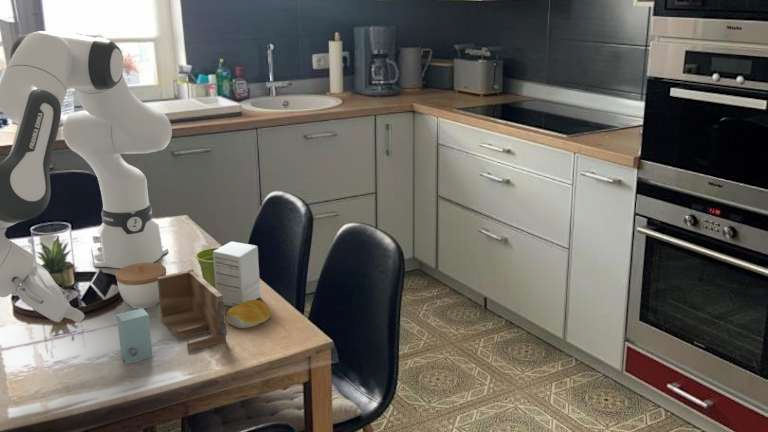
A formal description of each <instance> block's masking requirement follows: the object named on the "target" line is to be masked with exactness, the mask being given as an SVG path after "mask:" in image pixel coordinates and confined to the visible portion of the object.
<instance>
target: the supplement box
mask: <svg viewBox="0 0 768 432" xmlns="http://www.w3.org/2000/svg"><path fill="white" fill-rule="evenodd" d="M219 247H220V246H219ZM213 261H214V276H215V289H216V290H217V291H218V292H219V293H221V294H222V295H223V302H224V303H225V306H228V307H231V308H232V307H234V306H238V305H239V304H241V303H243V302H247V301H251V300H257V299H259V298H261V286H260V284H261V283H260V267H259V247H258V245H255V244H250V243H249V244H248V243H243V242H236V241H229V242H228V243H226V244H224V245H222V246H221V247H220V248H219V249H217V250H215V251H213Z"/></svg>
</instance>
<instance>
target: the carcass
mask: <svg viewBox="0 0 768 432" xmlns="http://www.w3.org/2000/svg"><path fill="white" fill-rule="evenodd" d="M157 281H158V290H159V307H160V308H159V309H160V318H161V322H162V323H163V324H164V325H165V326H166V327H167V328H168V330H170V331H171V333H173V335H174V336H175V337H176V338H177V339H178V340H181V339H185V338H188V337H192V336H196V335H198V334H203V333H206V332H209V333H211V334H210V335H207V336H203V337H199V338H195V339H191V340H187V341H186V347H187V350H188V352H190V351H194V350H197V349H202V348H205V347H208V346H212V345H216V344H220V343H223V342H226V341H227V335H228V332H227V331H228V330H227V329H228V328H227V322H226V321H225V315H226V305H225V303H224V302H223V295H222V294H221V293H219V292H218V291H217V290H216V289H215V288H214V287H212V286H211V285H210V284H209V283H208V282H207V281H205V280H204V279H203V276H201V275H200V274H199V273H198V272H196V271H195V270H194V269H188V270H183V271H180V272H175V273H174V272H173V273H171V274H166V275H165V276H161V277H157Z"/></svg>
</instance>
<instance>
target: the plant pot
mask: <svg viewBox="0 0 768 432" xmlns="http://www.w3.org/2000/svg"><path fill="white" fill-rule="evenodd" d="M219 248H220V246H219V247H209V248H205V249H202V250H200V251H198V252H197V253H196V254H195V259H196V260H197V261H198V264H199V267H200V270H201V275H202V276H201V277H202V278H203V279H204V280H205V281H207V282H208V283H209V284H210V285H211V286H212V287H214V288H215V276H214V261H213V251H215V250H217V249H219Z"/></svg>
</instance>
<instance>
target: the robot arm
mask: <svg viewBox="0 0 768 432" xmlns="http://www.w3.org/2000/svg"><path fill="white" fill-rule="evenodd" d="M123 72H124V57H123V52H122V50H121V48H120V47H119V46H118V45H117V44H116V43H115V42H114V41H112V40H110V39H107V38H105V37H104V36H102V35H101V34H99V33H98V32H96V31H91V30H80V31H77V32H75V33H73V34H72V33H71V34H70V33H65V34H63V33H54V32H50V31H45V30H44V31H43V30H39V31H35V32H31V33H26V34H22V35H20V36H19V37H18V38H17V39H16V40H15V41H14V42H13V43H12V46H11V49H10V60H9V62H8V63H7V66H6V68H5V71H4V73H3V75H2V78H1V81H0V111H1V112H2V113H3V114H4V116H5V117H6V118H7V119H8V120H10V121H11V122H13V123H15V124H17V128H16V132H15V135H14V138H13V143H12V145H11V149H10V152H9V155H8V156H7V157H6V158H5V159H4V160H2V162H1V163H0V297H1V298H5V297H9V296H10V295H12V296H13V297H15V296H17V297H19V299H20V300H21V302H22V303H24V304H25V305H27V306H28V307H29V308H31V309H33V310H34V311H36V312H37V313H39V314H40V315H42V316H44V317H45V318H47V319H49V320H51V321H53V322H54V323H60V322H61V321H63V319H64V318H65V319H69V320H71V321H74V322H76V323H78V324H79V323H81V322H82V321H83V320H84V318H85V317H86V316H85V314H84V312H83V311H82V310H80V309H79V308H75V307H73V306H71V304H70V302H71V301H72V299H73V297H72V295H71V294H70V293H69V292H67V291H66V290H64V289H63V288H62V287H60V286H59V284H57V283H56V282H55V280H54V278H53V277H52V275H51V274H50V272H49V271H48V270H47V269H45V267H43V266H42V265H41V264H40V263H38V262H37V261H36V260H35V255H34V254H33V253H32V252H30V251H28V250H27V249H25V248H24V247H22V246H20V245H18V244H17V243H15V242H14V241H12V240H10V239H9V238H7V237H6V235H5V233H6V231H7V229H8V228H9V227H11V226H14V225H15V224H17V223H21V222H25V221H29V220H32V219H34V218H37V217H38V216H40V215H41V214H42V213H44V211H46V209H47V207H48V205H49V204H50V203H49V202H50V199H51V187H52V186H51V179H50V178H51V177H50V167H51V162H52V161H51V160H52V157H53V152H54V149H55V144H56V140H57V136H58V132H59V128H60V122H61V118H62V117H61V116H62V105H63V103H64V100H65V97H66V94H67V91H68V90H69V89H72V90H74V93H75V94H76V97H77V99H78V101H79V104H80V106H81V107H82V109H84V110H80V111H79V110H78V111H74V112H71V113H70V114H68V116H67V117H66V118H65V120H64V122H63V126H62V137H63V140H64V142H65V144H66V145H67V147H68V148H69V149H70V150H71V151H72V152H74V153H75V154H78V155H79V156H80V157H81V158H82V159H83V160H85V161H86V162H87V164H89V166H90V167H91V169H92V170H93V171H94V173H95V175H96V177H97V182H98V185H99V189H100V194H101V200H102V208H101V221H102V223H101V225H100V226H99V228H98V233H97V234H92V240H93V244H92V245H91V254H92V258H93V265H94V267H96V268H97V267H98V268H105V267H106V268H114V269H121V268H123V267H126V266H129V265H133V264H138V263H155V262H157V261H158V260H159V259H161V257H162V256H163V255H166V254H167V253H168V252H169V250H168V247H167V246H166V245H165V246H164V245H163V243H162V237H161V232H160V226H159V223H158V222H156V221H155V220H153V211H152V210H153V209H152V204H151V203H150V201H149V191H148V182H147V181H148V180H147V177H146V176H145V174H144V173H143V172H142V171H141V170H140V169H139V168H138V167H135V166H134V165H131V164H129V163H127V162H126V161H125V160H124V159H123V157H122V156H121V155H123V154H127V155H128V154H129V155H132V154H149V153H154V152H159V151H162V150H165V149H166V148H167V146H168V145H169V144H170V141H171V139H172V135H173V129H172V127H173V126H172V123H171V121H170V120H169V117H168V116H167V115H166V114H165V113H164V112H163V111H161V110H159V109H156V108H153V107H151V106H149V105H148V104H146V103H145V102H143V100H142V101H141V100H140V99H139V98H138V97H136V95H135V94H134V93H133V92H132V91H131V90H130V88H129V86H128V84H127V81H126V79H125V77H124V75H123Z"/></svg>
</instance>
